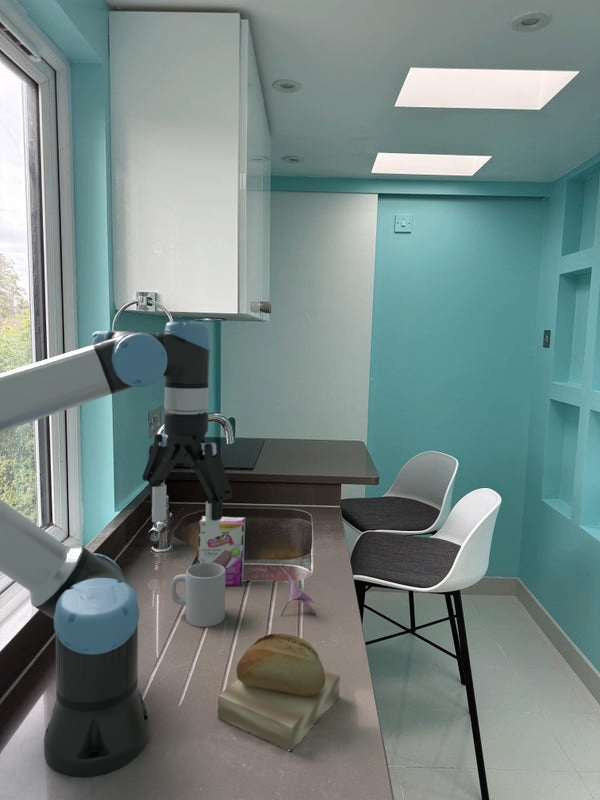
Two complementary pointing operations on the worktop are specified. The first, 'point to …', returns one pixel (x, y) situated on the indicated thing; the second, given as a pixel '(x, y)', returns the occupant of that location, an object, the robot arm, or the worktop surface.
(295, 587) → the lily
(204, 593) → the mug
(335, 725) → the worktop surface
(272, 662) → the bread roll
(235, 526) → the candy bar box
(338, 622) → the worktop surface
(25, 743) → the worktop surface
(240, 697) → the wooden base
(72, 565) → the robot arm
